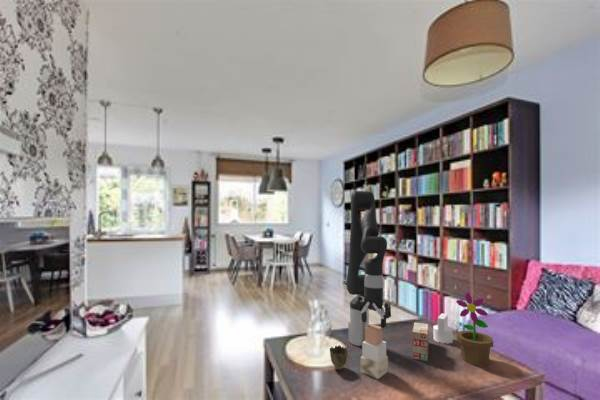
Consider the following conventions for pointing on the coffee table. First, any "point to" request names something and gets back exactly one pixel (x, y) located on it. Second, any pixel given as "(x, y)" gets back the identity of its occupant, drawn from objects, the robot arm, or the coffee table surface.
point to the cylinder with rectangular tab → (443, 330)
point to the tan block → (373, 334)
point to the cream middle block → (374, 351)
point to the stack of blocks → (420, 341)
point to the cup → (338, 356)
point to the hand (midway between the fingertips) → (373, 324)
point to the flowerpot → (474, 335)
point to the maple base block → (374, 367)
